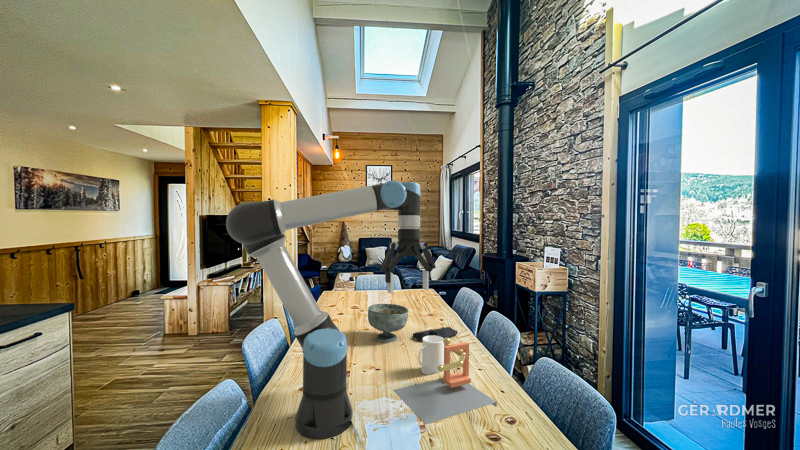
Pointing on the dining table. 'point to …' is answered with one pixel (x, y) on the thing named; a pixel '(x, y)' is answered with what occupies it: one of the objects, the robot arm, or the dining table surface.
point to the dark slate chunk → (435, 333)
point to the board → (442, 399)
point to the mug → (431, 354)
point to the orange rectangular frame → (460, 377)
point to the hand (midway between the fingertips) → (408, 291)
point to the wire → (454, 364)
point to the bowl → (387, 320)
